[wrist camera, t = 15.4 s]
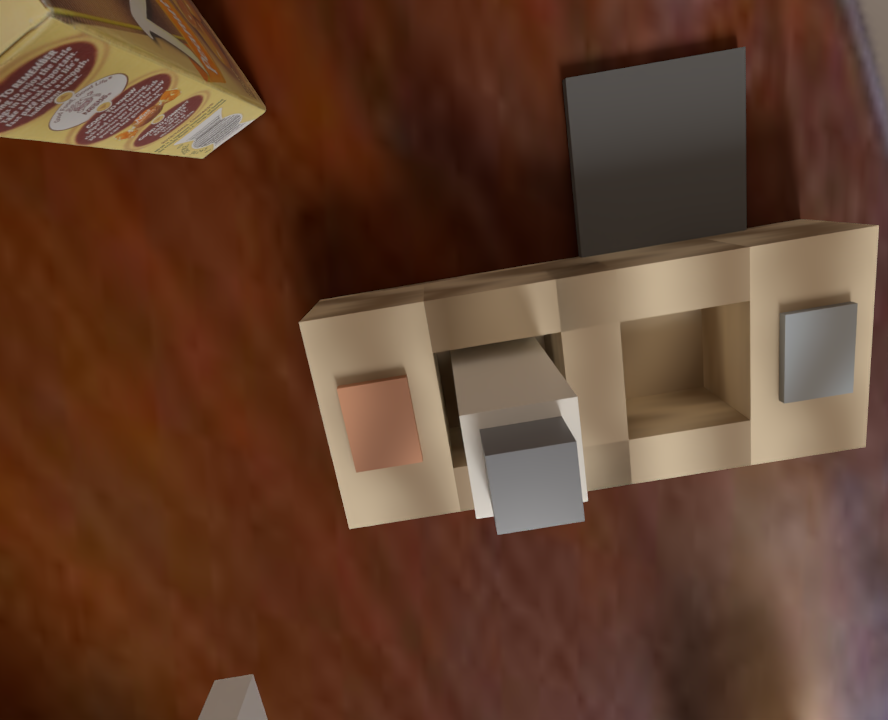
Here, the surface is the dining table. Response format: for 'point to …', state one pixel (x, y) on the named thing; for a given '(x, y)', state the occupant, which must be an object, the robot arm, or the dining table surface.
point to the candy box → (119, 76)
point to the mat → (658, 152)
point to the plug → (520, 435)
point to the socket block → (609, 361)
